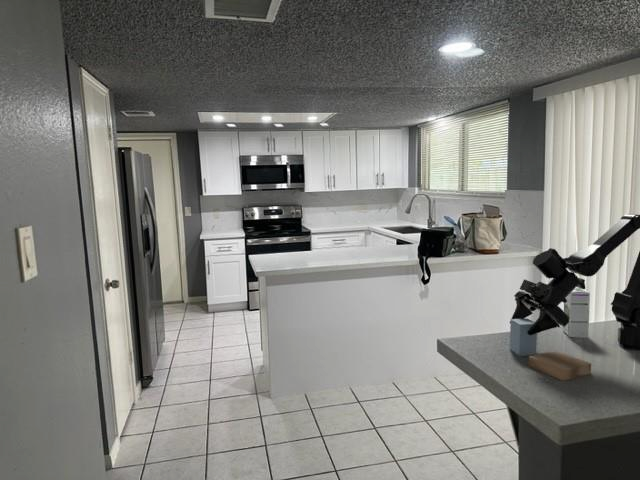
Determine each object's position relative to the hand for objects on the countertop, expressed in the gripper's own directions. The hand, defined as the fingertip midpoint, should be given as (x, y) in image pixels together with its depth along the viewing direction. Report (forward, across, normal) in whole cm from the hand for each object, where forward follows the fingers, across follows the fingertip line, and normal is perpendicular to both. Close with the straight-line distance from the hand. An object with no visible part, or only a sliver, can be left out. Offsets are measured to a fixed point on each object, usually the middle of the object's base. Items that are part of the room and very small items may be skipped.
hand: (519, 328), depth 124 cm
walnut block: (+2, +12, +8) cm, 15 cm away
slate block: (+4, 0, +6) cm, 7 cm away
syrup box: (-13, -11, +23) cm, 28 cm away
